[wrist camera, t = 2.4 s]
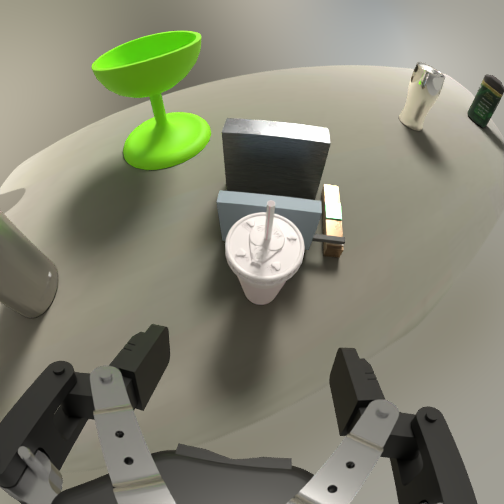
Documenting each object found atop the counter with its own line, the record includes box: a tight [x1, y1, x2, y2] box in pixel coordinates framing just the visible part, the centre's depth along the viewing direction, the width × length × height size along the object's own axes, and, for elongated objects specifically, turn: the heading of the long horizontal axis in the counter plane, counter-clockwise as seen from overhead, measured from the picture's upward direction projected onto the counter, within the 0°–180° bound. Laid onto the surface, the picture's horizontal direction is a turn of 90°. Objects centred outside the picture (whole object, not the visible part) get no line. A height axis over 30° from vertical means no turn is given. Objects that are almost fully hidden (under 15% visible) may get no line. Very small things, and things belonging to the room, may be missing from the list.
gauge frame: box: [222, 118, 344, 257], centre depth 31 cm, size 15×12×10 cm
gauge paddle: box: [217, 191, 345, 250], centre depth 29 cm, size 14×2×7 cm, turn 83°
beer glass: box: [399, 62, 445, 131], centre depth 42 cm, size 7×7×15 cm
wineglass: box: [92, 31, 211, 170], centre depth 35 cm, size 16×16×18 cm
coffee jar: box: [468, 75, 504, 127], centre depth 49 cm, size 10×8×19 cm
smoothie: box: [225, 200, 304, 305], centre depth 24 cm, size 6×6×14 cm
